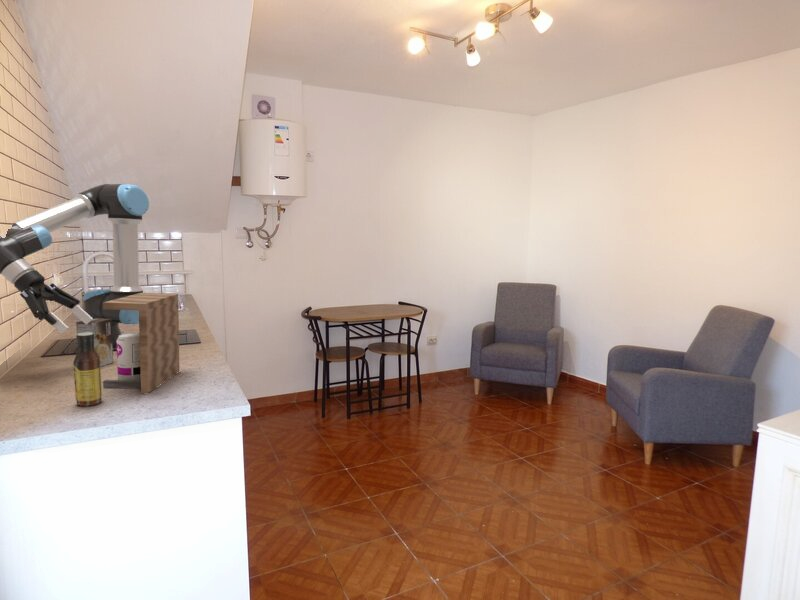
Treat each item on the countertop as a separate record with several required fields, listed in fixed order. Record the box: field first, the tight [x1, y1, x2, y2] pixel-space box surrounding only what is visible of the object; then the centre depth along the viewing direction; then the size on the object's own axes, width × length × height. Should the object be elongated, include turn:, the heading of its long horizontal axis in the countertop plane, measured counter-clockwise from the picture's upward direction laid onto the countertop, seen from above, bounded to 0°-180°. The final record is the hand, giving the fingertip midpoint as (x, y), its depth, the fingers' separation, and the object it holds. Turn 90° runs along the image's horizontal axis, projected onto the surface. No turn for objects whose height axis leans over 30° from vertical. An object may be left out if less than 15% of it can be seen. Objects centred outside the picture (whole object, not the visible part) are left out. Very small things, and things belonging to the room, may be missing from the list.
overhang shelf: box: [102, 292, 181, 394], centre depth 157 cm, size 24×16×27 cm, turn 3°
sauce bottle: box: [72, 332, 103, 407], centre depth 137 cm, size 7×6×20 cm
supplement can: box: [116, 332, 141, 381], centre depth 158 cm, size 8×8×15 cm
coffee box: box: [75, 318, 114, 368], centre depth 175 cm, size 9×6×16 cm
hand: (77, 326), depth 158 cm, fingers open, 13 cm apart
